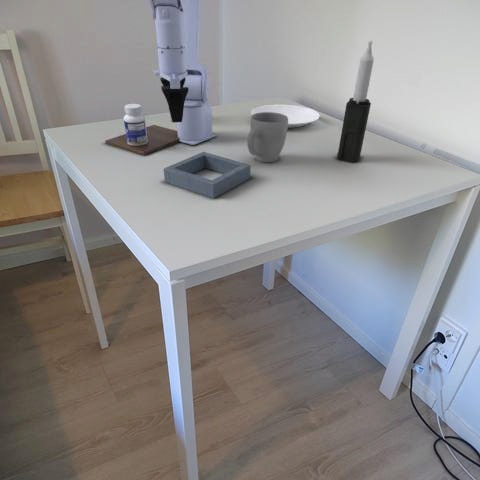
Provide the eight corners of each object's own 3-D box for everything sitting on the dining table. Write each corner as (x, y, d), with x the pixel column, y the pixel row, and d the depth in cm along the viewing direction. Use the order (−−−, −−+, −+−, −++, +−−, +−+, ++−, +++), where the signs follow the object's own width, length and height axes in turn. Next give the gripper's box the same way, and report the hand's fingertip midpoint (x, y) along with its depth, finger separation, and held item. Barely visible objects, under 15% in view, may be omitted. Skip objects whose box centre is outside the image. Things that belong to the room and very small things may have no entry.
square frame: (203, 164, 102) (203, 151, 100) (250, 178, 96) (250, 164, 94) (164, 182, 93) (163, 168, 91) (213, 198, 88) (213, 184, 86)
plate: (246, 112, 137) (246, 104, 136) (309, 111, 139) (310, 104, 138) (255, 132, 122) (255, 123, 120) (326, 131, 124) (327, 123, 122)
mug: (263, 149, 110) (265, 109, 104) (291, 158, 106) (295, 117, 100) (233, 162, 103) (234, 120, 97) (262, 171, 99) (265, 128, 93)
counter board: (154, 127, 123) (153, 124, 122) (191, 137, 117) (190, 134, 116) (105, 143, 111) (105, 140, 111) (143, 155, 105) (143, 152, 105)
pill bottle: (128, 139, 112) (123, 102, 106) (148, 139, 112) (144, 102, 106) (126, 146, 108) (120, 108, 102) (147, 146, 108) (142, 108, 102)
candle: (360, 156, 108) (384, 40, 92) (356, 163, 105) (380, 43, 89) (341, 153, 110) (361, 38, 94) (336, 159, 106) (356, 41, 90)
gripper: (151, 41, 93) (157, 108, 102) (152, 52, 82) (159, 126, 91) (183, 41, 94) (187, 108, 103) (188, 52, 83) (192, 126, 92)
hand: (176, 116), depth 97 cm, fingers open, 7 cm apart
